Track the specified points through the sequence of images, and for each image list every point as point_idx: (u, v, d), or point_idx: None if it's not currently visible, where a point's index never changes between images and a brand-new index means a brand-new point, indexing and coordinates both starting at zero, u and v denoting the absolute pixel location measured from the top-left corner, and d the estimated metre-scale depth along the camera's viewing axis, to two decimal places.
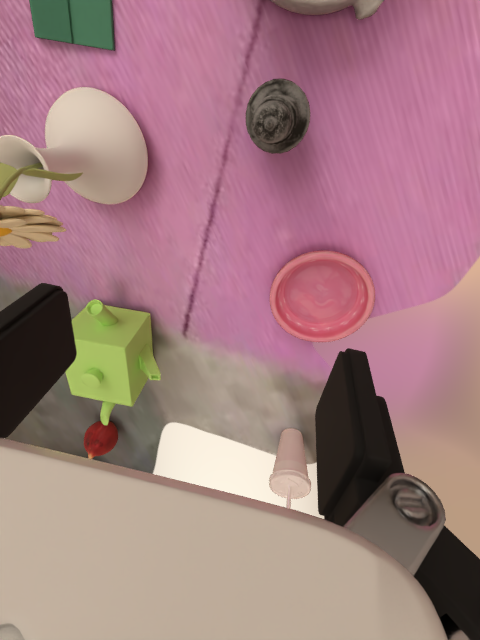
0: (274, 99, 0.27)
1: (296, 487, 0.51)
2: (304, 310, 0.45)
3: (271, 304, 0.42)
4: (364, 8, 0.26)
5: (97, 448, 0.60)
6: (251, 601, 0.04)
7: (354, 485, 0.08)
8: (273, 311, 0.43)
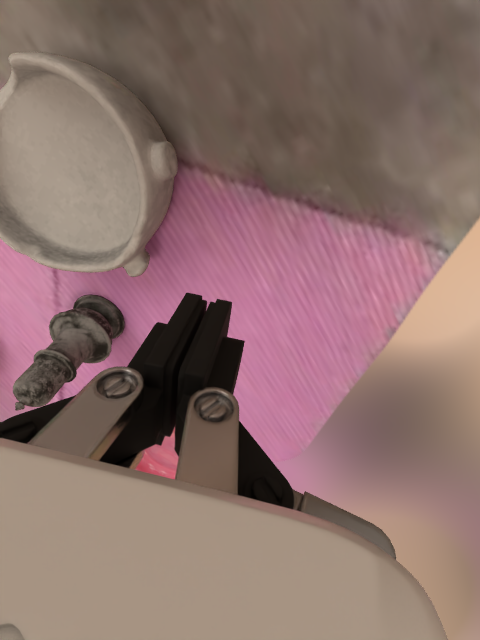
0: (47, 355, 0.27)
1: None
2: (167, 461, 0.45)
3: None
4: (129, 272, 0.26)
5: None
6: (251, 601, 0.04)
7: None
8: None
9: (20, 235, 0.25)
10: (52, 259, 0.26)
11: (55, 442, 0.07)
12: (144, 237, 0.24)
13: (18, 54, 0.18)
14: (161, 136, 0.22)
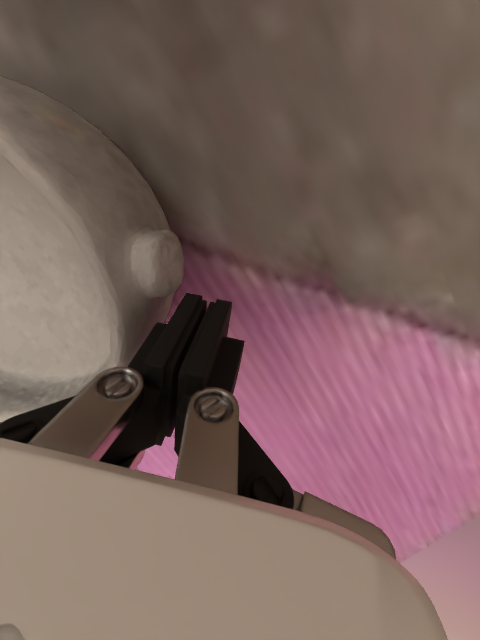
0: None
1: None
2: None
3: None
4: None
5: None
6: (251, 601, 0.04)
7: None
8: None
9: None
10: None
11: (55, 442, 0.07)
12: None
13: None
14: (154, 213, 0.12)
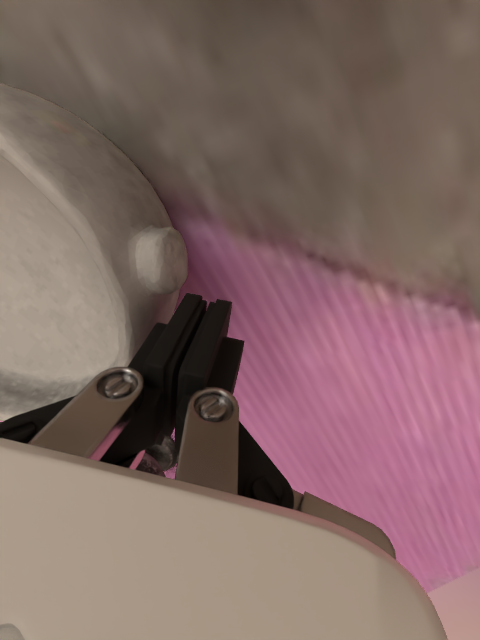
0: None
1: None
2: None
3: None
4: None
5: None
6: (251, 601, 0.04)
7: None
8: None
9: None
10: None
11: (55, 442, 0.07)
12: None
13: None
14: (157, 211, 0.12)
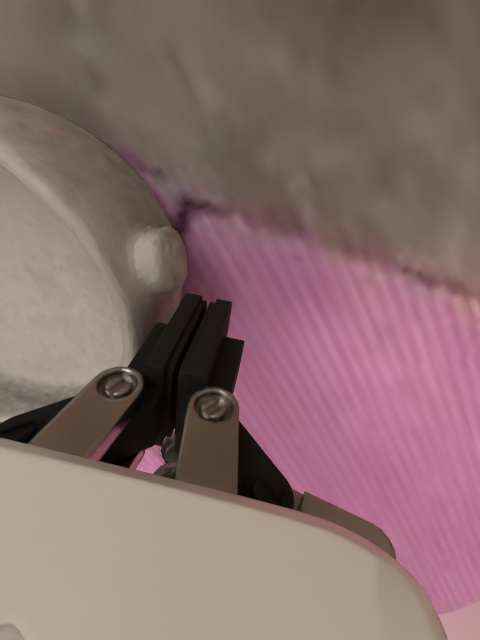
0: None
1: None
2: None
3: None
4: None
5: None
6: (251, 601, 0.04)
7: None
8: None
9: None
10: None
11: (55, 442, 0.07)
12: None
13: None
14: (155, 212, 0.12)
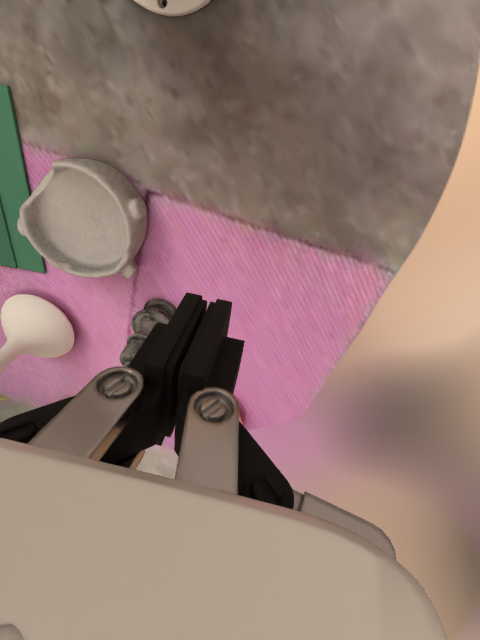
0: (138, 337, 0.42)
1: None
2: None
3: None
4: (124, 276, 0.42)
5: None
6: (251, 601, 0.04)
7: None
8: (174, 428, 0.58)
9: (58, 257, 0.42)
10: (78, 271, 0.42)
11: (55, 442, 0.07)
12: (131, 253, 0.40)
13: (56, 162, 0.35)
14: (136, 194, 0.38)
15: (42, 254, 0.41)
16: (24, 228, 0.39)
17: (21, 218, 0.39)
